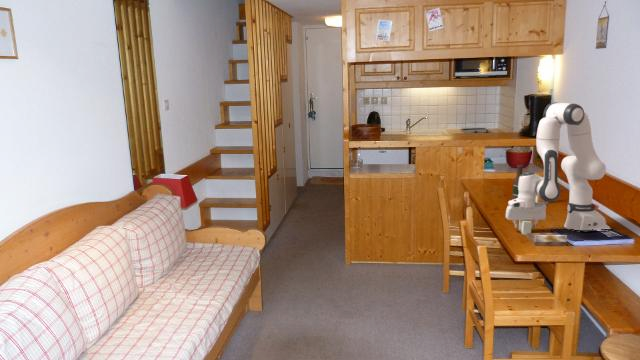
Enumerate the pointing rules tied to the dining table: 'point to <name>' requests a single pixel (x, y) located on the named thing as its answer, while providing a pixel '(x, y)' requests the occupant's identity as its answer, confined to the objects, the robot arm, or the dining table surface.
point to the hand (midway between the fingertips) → (525, 227)
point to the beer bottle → (516, 181)
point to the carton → (525, 226)
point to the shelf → (547, 239)
